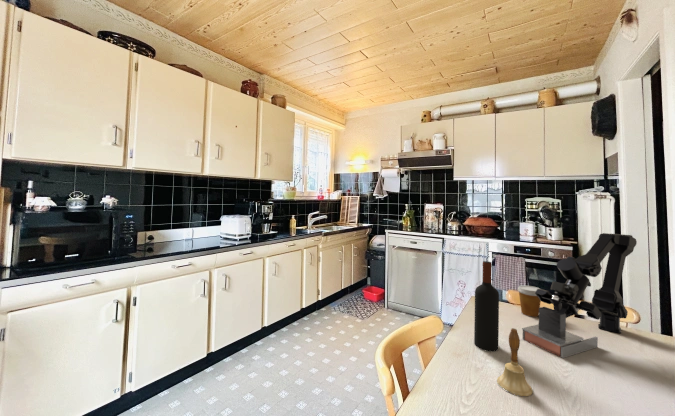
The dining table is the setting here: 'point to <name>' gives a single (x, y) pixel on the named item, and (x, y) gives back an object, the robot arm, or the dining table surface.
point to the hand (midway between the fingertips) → (555, 321)
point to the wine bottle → (486, 312)
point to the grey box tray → (562, 350)
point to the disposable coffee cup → (529, 300)
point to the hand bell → (514, 370)
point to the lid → (552, 328)
